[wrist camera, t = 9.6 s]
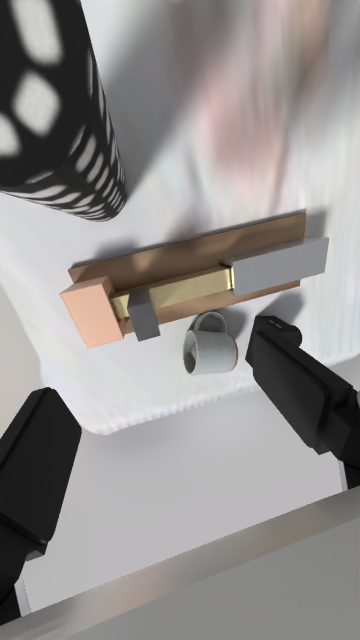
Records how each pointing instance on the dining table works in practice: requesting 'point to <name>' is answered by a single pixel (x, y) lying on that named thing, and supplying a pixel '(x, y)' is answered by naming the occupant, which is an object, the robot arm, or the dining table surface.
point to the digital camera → (278, 325)
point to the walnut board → (193, 265)
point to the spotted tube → (55, 113)
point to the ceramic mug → (209, 349)
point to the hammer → (166, 297)
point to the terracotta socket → (94, 311)
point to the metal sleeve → (276, 264)
